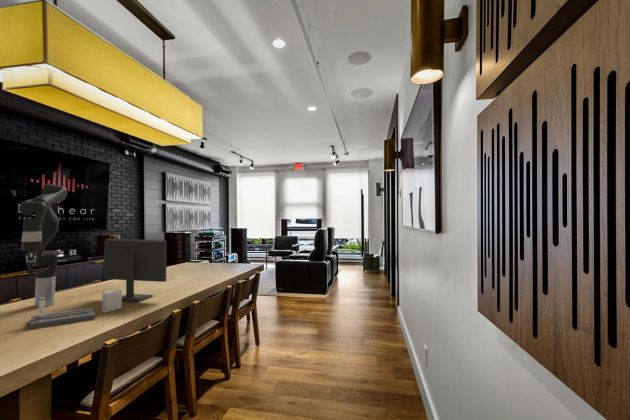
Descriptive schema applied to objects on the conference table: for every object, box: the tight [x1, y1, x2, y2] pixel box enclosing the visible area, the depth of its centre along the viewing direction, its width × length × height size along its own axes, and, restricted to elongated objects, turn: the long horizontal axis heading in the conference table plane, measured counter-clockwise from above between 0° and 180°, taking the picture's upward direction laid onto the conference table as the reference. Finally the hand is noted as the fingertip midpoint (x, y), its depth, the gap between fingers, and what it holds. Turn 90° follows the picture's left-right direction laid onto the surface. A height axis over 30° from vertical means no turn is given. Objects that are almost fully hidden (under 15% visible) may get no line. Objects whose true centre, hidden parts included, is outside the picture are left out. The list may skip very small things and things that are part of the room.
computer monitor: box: [103, 238, 168, 303], centre depth 208 cm, size 44×16×40 cm, turn 84°
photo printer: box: [101, 288, 123, 314], centre depth 181 cm, size 10×4×12 cm, turn 156°
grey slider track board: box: [28, 307, 96, 330], centre depth 163 cm, size 16×26×4 cm, turn 130°
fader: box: [37, 297, 46, 318], centre depth 157 cm, size 4×3×10 cm
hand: (30, 272), depth 155 cm, fingers open, 8 cm apart
